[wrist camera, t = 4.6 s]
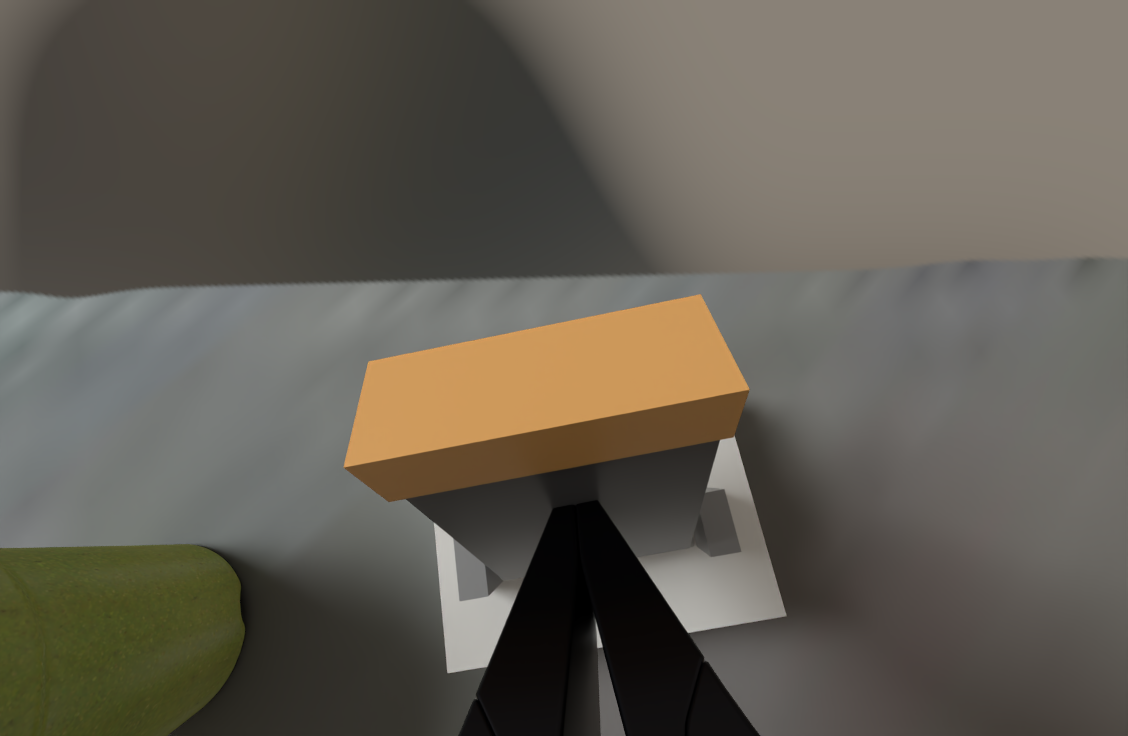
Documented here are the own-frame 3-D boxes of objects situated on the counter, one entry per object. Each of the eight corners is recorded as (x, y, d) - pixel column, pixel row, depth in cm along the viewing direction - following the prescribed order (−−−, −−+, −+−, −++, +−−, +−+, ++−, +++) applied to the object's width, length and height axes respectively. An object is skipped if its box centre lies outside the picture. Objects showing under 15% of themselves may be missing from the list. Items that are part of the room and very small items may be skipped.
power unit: (755, 592, 14) (816, 638, 10) (473, 640, 15) (423, 704, 11) (701, 396, 16) (734, 369, 12) (452, 443, 16) (403, 433, 12)
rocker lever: (695, 563, 12) (757, 388, 5) (508, 596, 12) (335, 468, 5) (676, 501, 13) (707, 292, 6) (506, 532, 13) (362, 362, 6)
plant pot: (340, 567, 16) (42, 671, 7) (193, 842, 14) (-423, 1392, 6) (162, 462, 17) (-242, 449, 9) (11, 693, 16) (-667, 943, 7)
